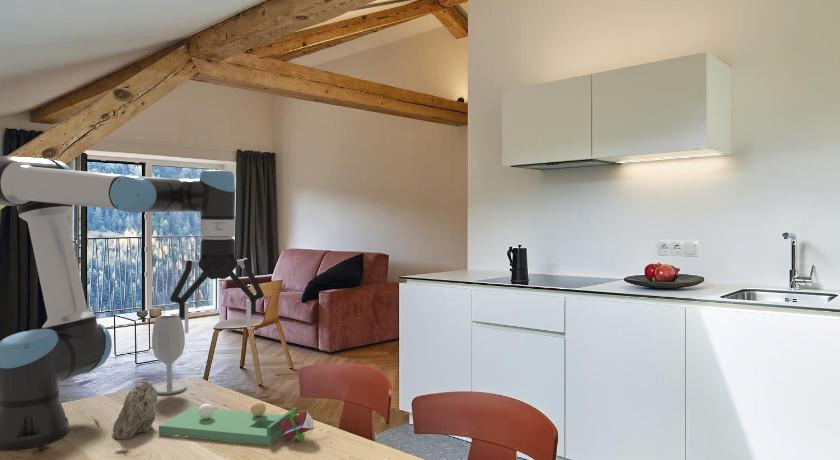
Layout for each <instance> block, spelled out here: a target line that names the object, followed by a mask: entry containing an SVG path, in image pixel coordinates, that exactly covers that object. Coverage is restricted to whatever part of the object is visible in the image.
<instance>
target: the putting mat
mask: <svg viewBox="0 0 840 460" xmlns="http://www.w3.org/2000/svg"><path fill="white" fill-rule="evenodd" d="M199 408H200V407H191V408H189V409H187V410H185V411H184V412H182V413H180V414H179V415H176V416H175V417H173V418H170V419H169V420H167V421H164V422H163V423H161V424H159V425H158V435H161V434H165V435H164V436H171V435H179V436H178V437H181V436H188V437H187V438H191V437H195V438H194V439H201V438H206V439H205V440H211V439H214V441H221V440H222V441H223V442H232V443H242V444H243V443H244V444H253V445H262V446H272V445H273V444H275V442H277V441H278V440H280V439H281V438H282V437H283V436H284V433H283V431H282V428H281V426H280V423H279V422H281V421H283V420H286V419H289V418H290V417H289V416H287V415H288V414H289V413H290V412H291V410H292V409H293V408H294V409H293V410H294V412H295V413H296V414H295V415H298V408H297V407H293V408H291V409H290V410H288V411H287V412H285V413H284V414H274V413H273V414H272V413H264V414H263V415H262V416H259V417H257V416H254V415H253V414H252V413H251V411H250V412H249V411H239V410H227V409H216V408H214V414H213V415H212V417H211V418H209V419H202V418H201V417H200V416H199V414H198V410H199ZM296 410H297V411H296ZM286 416H287V417H286ZM282 419H283V420H282Z"/></svg>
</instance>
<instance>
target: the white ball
mask: <svg viewBox="0 0 840 460" xmlns="http://www.w3.org/2000/svg"><path fill="white" fill-rule="evenodd" d="M198 408H199V410H198V414H199V416H200V417H201V418H202V419H209V418H211V417H212V415H213V414H214V409H215V408H214V406H213V405H212V404H210V403H203V404H201V405H200V406H199V407H198Z"/></svg>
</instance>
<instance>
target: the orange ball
mask: <svg viewBox="0 0 840 460" xmlns="http://www.w3.org/2000/svg"><path fill="white" fill-rule="evenodd" d="M266 408H267V406H266V404H265V403H264V402H263V401H261V400H260V401H259V400H257V401H254V402H253V403H252V404H251V406H250V412H251V413H252V414H253V415H254V416H257V417H259V416H262V415H263V414H266V413H265V412H266V410H267V409H266Z"/></svg>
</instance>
